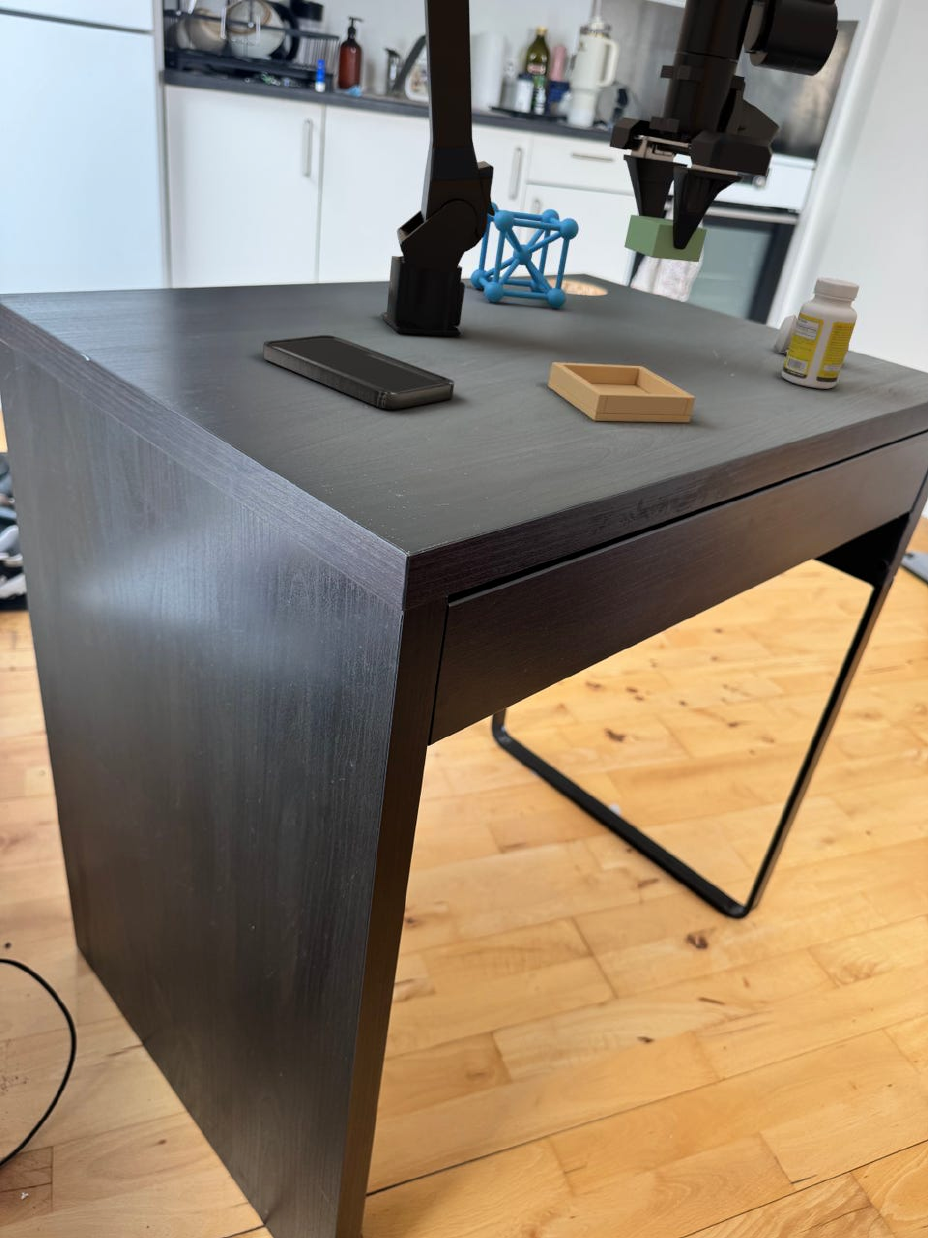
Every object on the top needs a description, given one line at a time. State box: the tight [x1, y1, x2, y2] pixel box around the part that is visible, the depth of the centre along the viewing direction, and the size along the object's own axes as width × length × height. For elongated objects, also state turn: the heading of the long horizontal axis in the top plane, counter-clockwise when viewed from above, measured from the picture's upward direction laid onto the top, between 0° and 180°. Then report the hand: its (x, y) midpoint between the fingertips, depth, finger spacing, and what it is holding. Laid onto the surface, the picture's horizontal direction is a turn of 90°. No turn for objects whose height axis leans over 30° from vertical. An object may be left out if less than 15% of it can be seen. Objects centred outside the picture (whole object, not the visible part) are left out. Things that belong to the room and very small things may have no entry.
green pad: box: [623, 214, 708, 263], centre depth 89 cm, size 5×5×3 cm
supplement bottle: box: [781, 276, 860, 390], centre depth 91 cm, size 5×5×10 cm
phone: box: [262, 334, 455, 410], centre depth 73 cm, size 8×1×15 cm
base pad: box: [547, 361, 696, 423], centre depth 76 cm, size 9×9×2 cm
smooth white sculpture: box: [773, 314, 850, 356], centre depth 103 cm, size 4×8×5 cm
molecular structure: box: [470, 201, 580, 309], centre depth 109 cm, size 10×10×10 cm
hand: (663, 243), depth 90 cm, fingers closed on green pad, 5 cm apart
